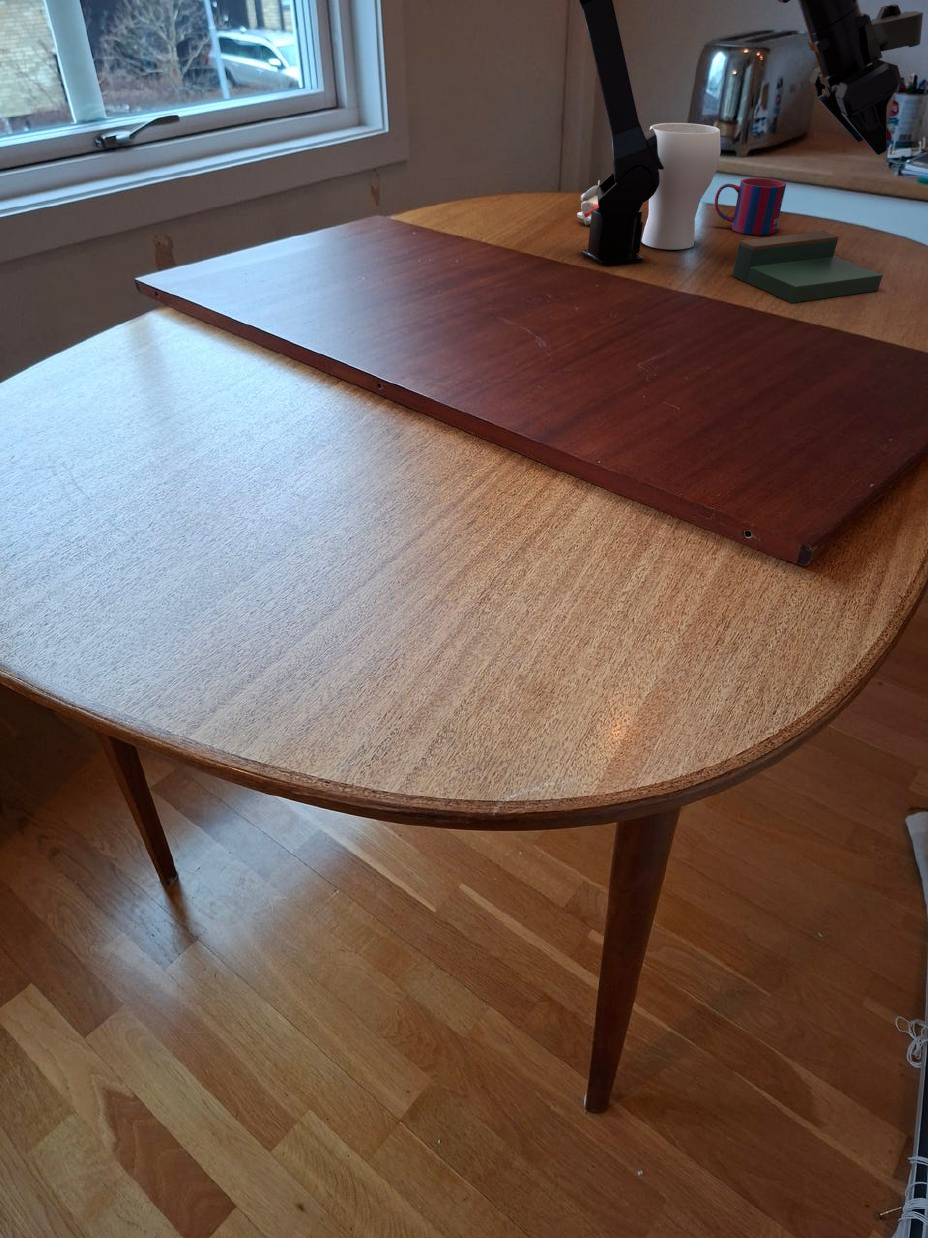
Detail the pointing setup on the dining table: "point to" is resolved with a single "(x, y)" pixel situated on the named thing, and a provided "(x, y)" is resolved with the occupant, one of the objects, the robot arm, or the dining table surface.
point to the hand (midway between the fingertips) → (871, 146)
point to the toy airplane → (588, 204)
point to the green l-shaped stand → (801, 267)
